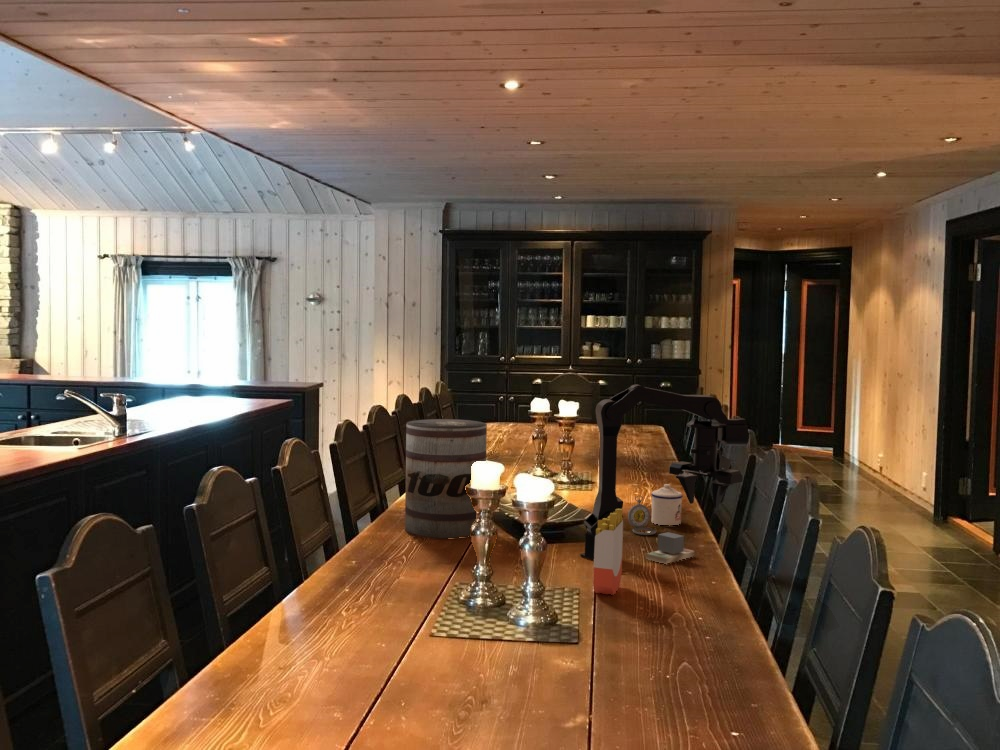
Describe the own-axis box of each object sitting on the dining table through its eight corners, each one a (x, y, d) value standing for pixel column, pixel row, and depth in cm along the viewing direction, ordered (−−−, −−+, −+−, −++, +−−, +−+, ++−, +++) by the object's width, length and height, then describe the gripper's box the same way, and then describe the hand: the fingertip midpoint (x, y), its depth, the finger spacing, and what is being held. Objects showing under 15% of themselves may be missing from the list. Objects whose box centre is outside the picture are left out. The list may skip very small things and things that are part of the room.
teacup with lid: (682, 527, 257) (683, 488, 256) (650, 525, 258) (651, 486, 258) (680, 518, 269) (682, 480, 268) (650, 516, 270) (651, 479, 270)
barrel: (423, 542, 234) (425, 430, 232) (392, 524, 253) (394, 420, 252) (498, 534, 244) (500, 426, 242) (463, 517, 264) (465, 418, 262)
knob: (673, 554, 220) (674, 538, 220) (657, 549, 224) (658, 534, 223) (683, 551, 223) (683, 536, 222) (667, 547, 226) (668, 532, 226)
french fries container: (591, 596, 191) (593, 514, 190) (601, 582, 201) (603, 504, 200) (612, 598, 190) (614, 516, 188) (621, 584, 200) (623, 506, 199)
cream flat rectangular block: (664, 564, 217) (665, 558, 217) (645, 559, 222) (645, 553, 221) (694, 556, 225) (694, 550, 225) (675, 551, 229) (675, 545, 229)
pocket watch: (649, 537, 244) (650, 501, 244) (622, 532, 250) (623, 497, 249) (662, 532, 251) (664, 497, 250) (636, 527, 256) (637, 493, 255)
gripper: (755, 447, 222) (753, 508, 223) (694, 438, 236) (692, 496, 237) (730, 450, 215) (728, 514, 216) (668, 441, 229) (666, 501, 230)
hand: (703, 505), depth 225 cm, fingers open, 7 cm apart
